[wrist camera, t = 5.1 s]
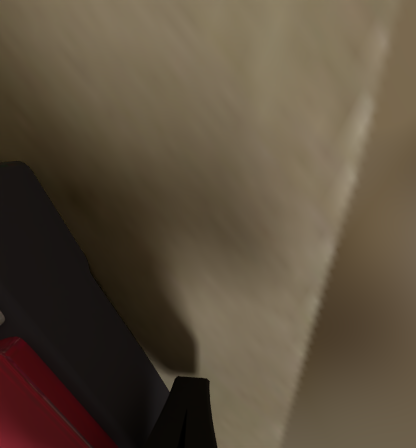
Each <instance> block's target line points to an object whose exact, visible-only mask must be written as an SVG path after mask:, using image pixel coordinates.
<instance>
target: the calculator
mask: <svg viewBox="0 0 416 448" xmlns="http://www.w3.org/2000/svg"><path fill="white" fill-rule="evenodd" d="M169 393H170V392H169V390H168V389H167V387H166V385H165V384H164V382H163V381H162V379H161V377H160V376H159V374H158V373H157V371H156V370H155V368H154V366H153V365H152V363H151V362H150V360H149V359H148V357H147V356H146V354H145V353H144V351H143V350H142V348H141V347H140V345H139V344H138V343H137V341H136V340H135V338H134V337H133V335H132V334H131V332H130V331H129V329H128V328H127V326H126V325H125V324H124V322H123V321H122V319H121V318H120V316H119V315H118V313H117V312H116V310H115V309H114V307H113V306H112V304H111V303H110V302H109V300H108V299H107V297H106V296H105V294H104V293H103V291H102V290H101V288H100V287H99V285H98V284H97V282H96V281H95V279H94V278H93V276H92V275H91V273H90V270H89V266H88V261H87V259H86V257H85V255H84V253H83V252H82V250H81V249H80V247H79V245H78V244H77V242H76V241H75V239H74V237H73V236H72V234H71V233H70V231H69V229H68V228H67V226H66V224H65V223H64V221H63V220H62V218H61V216H60V215H59V213H58V212H57V210H56V208H55V207H54V205H53V204H52V202H51V200H50V199H49V197H48V196H47V194H46V192H45V191H44V189H43V188H42V186H41V184H40V183H39V181H38V180H37V178H36V176H35V175H34V173H33V172H32V170H31V169H30V168H29V166H27V165H26V164H25V163H23V162H20V161H13V162H2V163H0V448H143V446H144V445H145V443H146V441H147V439H148V437H149V435H150V433H151V431H152V429H153V427H154V425H155V423H156V421H157V419H158V417H159V415H160V413H161V411H162V409H163V407H164V405H165V403H166V400H167V398H168V396H169Z"/></svg>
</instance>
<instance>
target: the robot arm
mask: <svg viewBox="0 0 416 448" xmlns="http://www.w3.org/2000/svg"><path fill="white" fill-rule="evenodd" d="M209 382H210V381H209V380H208V379H206V378H194V377H181V376H178V377H176V378H175V380H174V383H173V386H172V389H171V391H170V393H169V396H168V398H167V400H166V403H165V405H164V407H163V409H162V411H161V413H160V415H159V417H158V419H157V421H156V423H155V425H154V427H153V429H152V431H151V433H150V435H149V437H148V439H147V441H146V443H145V445H144V446H143V448H217V443H216V438H215V433H214V427H213V421H212V413H211V405H210V393H209Z"/></svg>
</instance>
